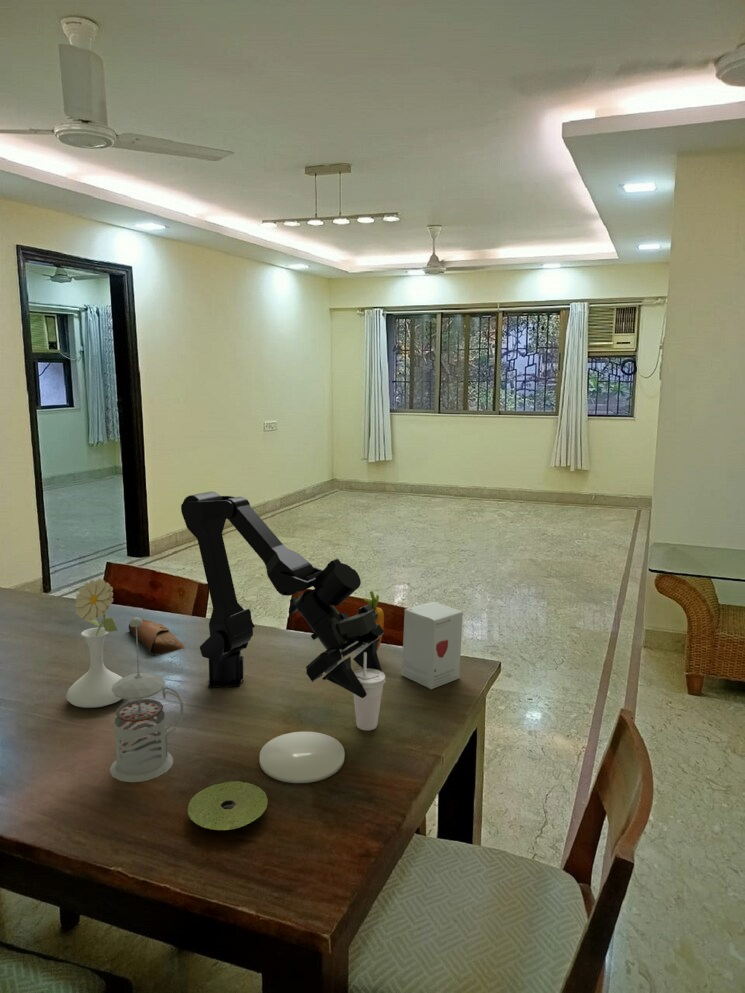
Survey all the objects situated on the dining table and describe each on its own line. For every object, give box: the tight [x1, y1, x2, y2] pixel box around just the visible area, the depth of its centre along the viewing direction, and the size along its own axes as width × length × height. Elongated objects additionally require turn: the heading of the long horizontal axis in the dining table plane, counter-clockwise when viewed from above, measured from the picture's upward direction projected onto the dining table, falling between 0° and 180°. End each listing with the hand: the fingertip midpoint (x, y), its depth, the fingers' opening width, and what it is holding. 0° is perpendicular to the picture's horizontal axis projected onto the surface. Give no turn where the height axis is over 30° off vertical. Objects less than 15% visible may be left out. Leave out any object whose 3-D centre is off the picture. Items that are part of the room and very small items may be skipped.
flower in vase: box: [65, 578, 123, 709], centre depth 131 cm, size 13×11×25 cm
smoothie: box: [352, 652, 386, 731], centre depth 124 cm, size 6×6×14 cm
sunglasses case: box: [128, 618, 185, 656], centre depth 163 cm, size 18×7×7 cm, turn 35°
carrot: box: [363, 590, 385, 651], centre depth 155 cm, size 5×5×15 cm
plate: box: [259, 731, 346, 784], centre depth 114 cm, size 14×14×1 cm
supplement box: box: [401, 601, 464, 690], centre depth 145 cm, size 9×9×15 cm
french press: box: [109, 616, 185, 783], centre depth 110 cm, size 10×12×25 cm
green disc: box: [187, 780, 268, 831], centre depth 99 cm, size 11×11×2 cm
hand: (374, 689), depth 124 cm, fingers closed on smoothie, 6 cm apart
